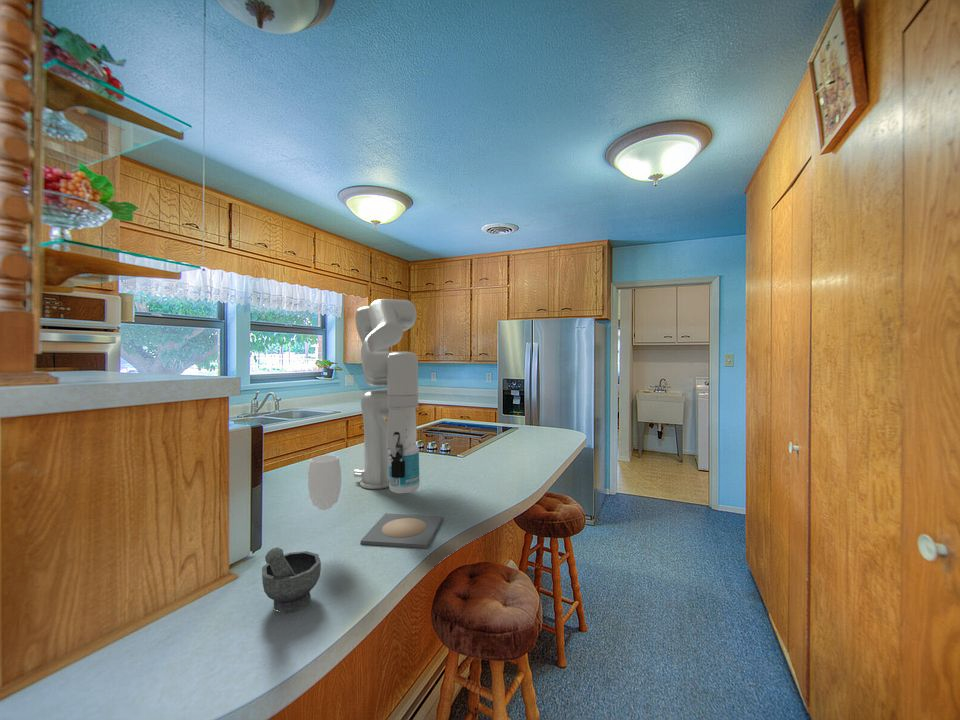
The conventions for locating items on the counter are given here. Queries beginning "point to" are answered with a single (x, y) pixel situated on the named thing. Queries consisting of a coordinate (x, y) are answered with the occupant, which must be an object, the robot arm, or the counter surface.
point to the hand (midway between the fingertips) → (403, 471)
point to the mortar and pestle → (290, 578)
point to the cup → (324, 481)
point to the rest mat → (403, 530)
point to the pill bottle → (406, 471)
